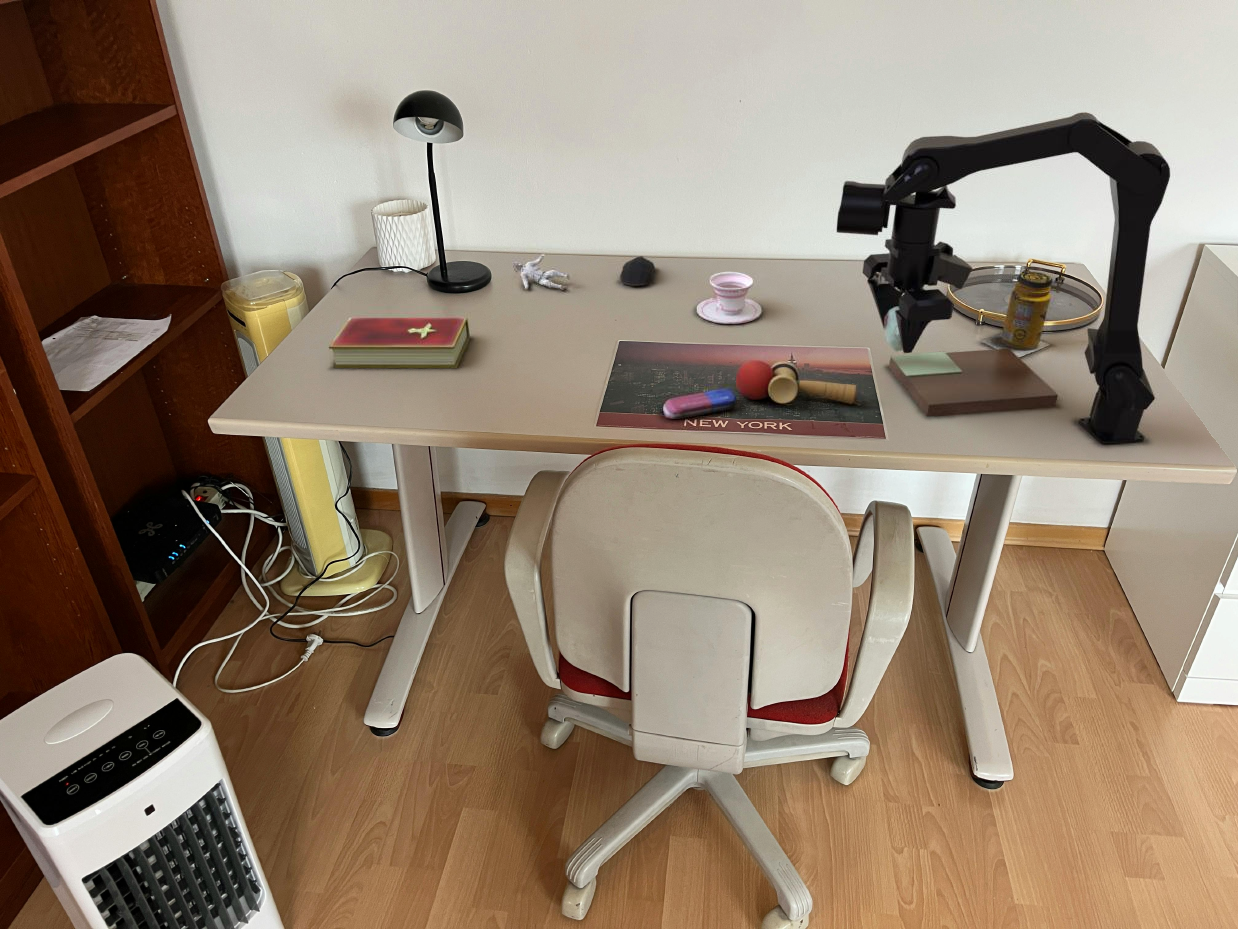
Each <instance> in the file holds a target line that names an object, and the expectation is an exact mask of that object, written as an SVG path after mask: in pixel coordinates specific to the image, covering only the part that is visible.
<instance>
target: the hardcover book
mask: <svg viewBox="0 0 1238 929" xmlns="http://www.w3.org/2000/svg"><path fill="white" fill-rule="evenodd" d="M469 341H470V327H469V320H468V317H349V318H348V319H347V321H346V322H345V323H344V324H343V326H342V327H341V329H340V330H339V332H338V333H337V334H336V335H335V337H334V339H332V341H331V342H330V344H329V346H328V349H329V350H332V354H333V358H334V363H333V365H332V369H457V368H458V366H459V363H460V361H461V359H462V358H463V354H464V353H465V350H466V348H467V346H468V343H469Z"/></svg>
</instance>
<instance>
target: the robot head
mask: <svg viewBox="0 0 1238 929" xmlns="http://www.w3.org/2000/svg"><path fill="white" fill-rule="evenodd" d="M895 310H899V307H894V308H892V309H891V310H889V312H888V313H887V315H886V316H885V319H884V328H883V330H884V329H885V330H884V335H885V338H886V341H887V344H888V345H889V347H890V348H891V349H892V350H893V351H895V352H901V351H903V349H902V344H901V340H900V334H899V329H898V324H897V319H896V314H895Z"/></svg>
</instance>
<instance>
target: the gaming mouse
mask: <svg viewBox="0 0 1238 929" xmlns="http://www.w3.org/2000/svg"><path fill="white" fill-rule="evenodd" d="M655 272H656V267H655V264H654V262H652V261H651V260H649V259H647V258H645V257H644V256H643V255H640V256H636V257H635V258H632V259H630V260H628V261H627V262H625V263H624V264H623V266H622V271H620V275H619V276H620V283H622V284H624V285H627V286H631V287H640V286H646V285H649V284H650V283H652V282H653V281H654V280H653V279H654V276H655Z"/></svg>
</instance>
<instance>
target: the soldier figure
mask: <svg viewBox="0 0 1238 929" xmlns="http://www.w3.org/2000/svg"><path fill="white" fill-rule="evenodd" d="M545 256H547V255H546V254H541V255H539V257H538V258H537V259H535V260H532V261H528V262H526V264H525V265H523V262H522V261H521V262H520V261H514V262H513V265H512V268H513V271H514V273H516V274H518V272H520V277H521V279H522V282H523V286H524V288H525V289H526V290H529V280H530V281H531V282H535V283H537V284H538V285H542V286H544V287H548V288H549V289H552V288H553V289H560V290H562V291H564V290H565V286H564V285H562V284H557V283H554V282H553V281H551V280H550V279H552V278H554V277H557V278H564V279H566V280H568V281H569V280H570V279H571V277H570V274H569V273H566V274H565V273H562V272H560V271H558V270H557V269H552V270H548V271H544V270H542V269H540V267H539V266H537V265H540V263H541V262H542V261H543V259H544V257H545ZM528 279H529V280H528Z"/></svg>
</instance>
